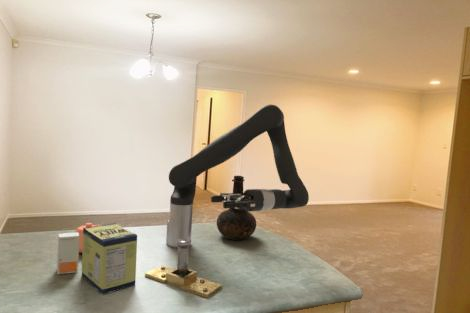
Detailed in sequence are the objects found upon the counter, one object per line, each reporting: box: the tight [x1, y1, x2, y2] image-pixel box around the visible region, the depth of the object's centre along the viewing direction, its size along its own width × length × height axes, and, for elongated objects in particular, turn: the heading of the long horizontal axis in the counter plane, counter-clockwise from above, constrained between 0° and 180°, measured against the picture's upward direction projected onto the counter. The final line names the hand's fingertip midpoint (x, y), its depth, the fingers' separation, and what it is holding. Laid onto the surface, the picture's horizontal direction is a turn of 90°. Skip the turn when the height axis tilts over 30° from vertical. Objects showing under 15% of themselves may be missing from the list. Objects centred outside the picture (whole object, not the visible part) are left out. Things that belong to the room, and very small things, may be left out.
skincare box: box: [56, 232, 80, 275], centre depth 111 cm, size 6×4×12 cm
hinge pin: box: [176, 239, 192, 277], centre depth 109 cm, size 4×4×13 cm
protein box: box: [81, 222, 138, 295], centre depth 106 cm, size 10×16×16 cm
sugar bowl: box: [74, 222, 101, 254], centre depth 131 cm, size 12×14×10 cm
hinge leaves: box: [144, 265, 223, 299], centre depth 109 cm, size 24×8×3 cm, turn 61°
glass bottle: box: [216, 175, 257, 241], centre depth 157 cm, size 18×18×28 cm
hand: (217, 201), depth 114 cm, fingers open, 8 cm apart
